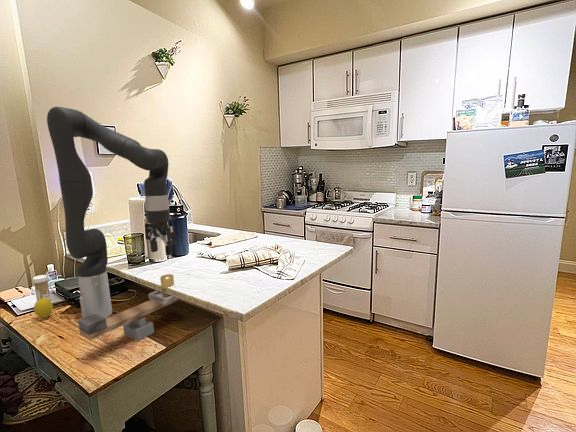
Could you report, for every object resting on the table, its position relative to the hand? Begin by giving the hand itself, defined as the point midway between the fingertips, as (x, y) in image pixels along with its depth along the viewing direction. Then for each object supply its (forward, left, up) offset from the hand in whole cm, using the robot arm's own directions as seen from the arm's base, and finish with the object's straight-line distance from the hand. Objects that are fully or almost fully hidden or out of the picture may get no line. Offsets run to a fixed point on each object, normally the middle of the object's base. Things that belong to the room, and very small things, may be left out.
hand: (161, 253), depth 110 cm
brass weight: (+1, +1, -16) cm, 16 cm away
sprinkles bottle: (-43, +33, -25) cm, 61 cm away
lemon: (-41, +23, -25) cm, 54 cm away
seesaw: (-10, -6, -18) cm, 21 cm away
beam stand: (-10, -6, -25) cm, 28 cm away
